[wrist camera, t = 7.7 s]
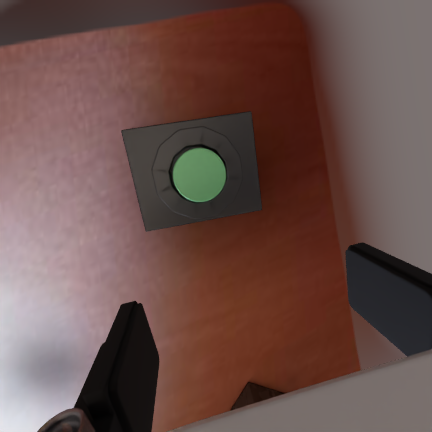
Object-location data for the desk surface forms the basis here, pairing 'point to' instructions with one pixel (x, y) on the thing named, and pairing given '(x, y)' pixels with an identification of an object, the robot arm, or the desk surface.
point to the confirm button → (199, 174)
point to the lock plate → (254, 395)
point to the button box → (168, 155)
